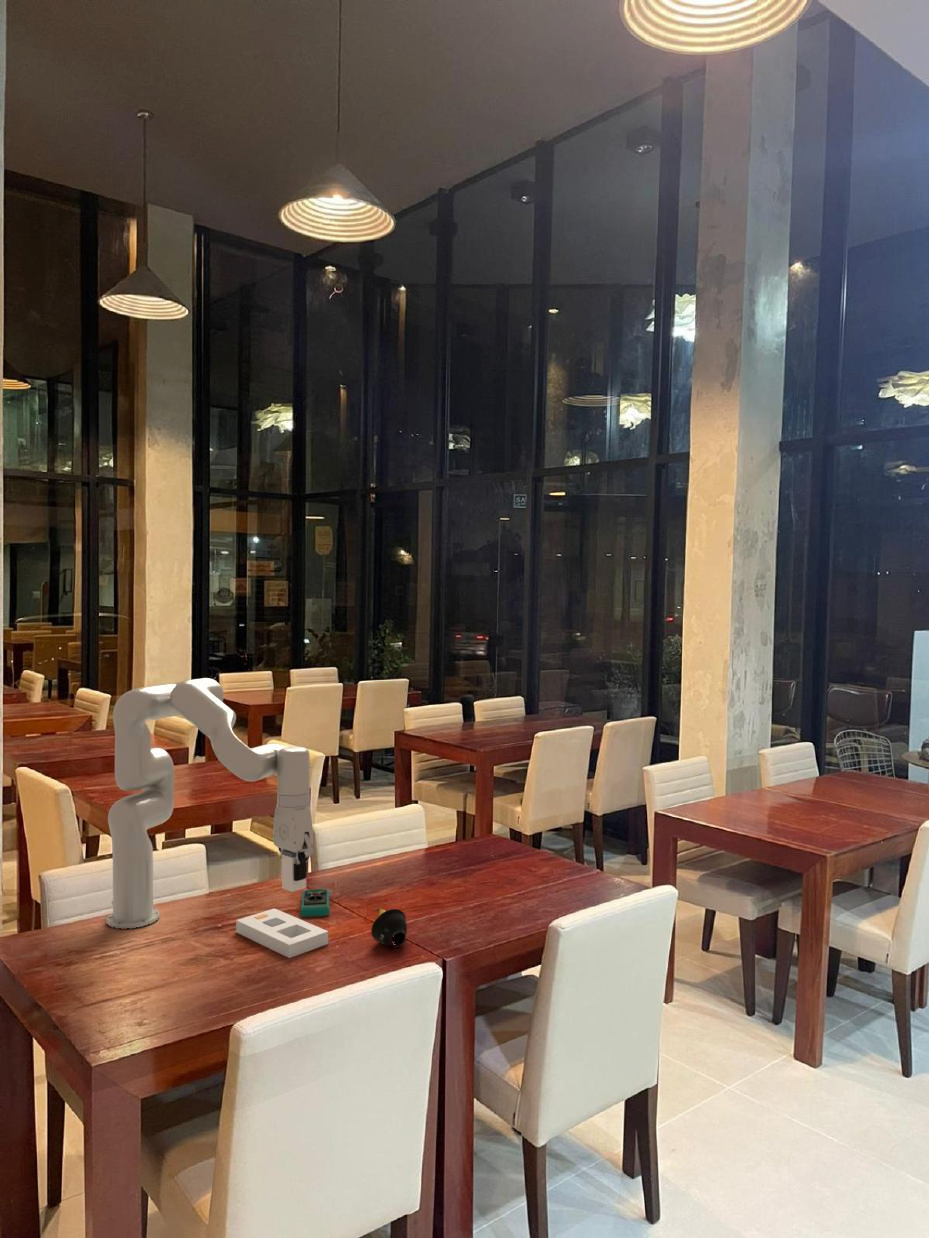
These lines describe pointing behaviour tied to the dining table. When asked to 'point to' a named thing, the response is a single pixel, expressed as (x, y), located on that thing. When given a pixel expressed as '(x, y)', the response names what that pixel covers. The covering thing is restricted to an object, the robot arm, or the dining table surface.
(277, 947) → the power strip
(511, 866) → the dining table surface
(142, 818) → the robot arm
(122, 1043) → the dining table surface
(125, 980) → the dining table surface
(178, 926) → the dining table surface
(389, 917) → the fried shrimp in bowl
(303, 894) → the digital multimeter
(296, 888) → the plug
